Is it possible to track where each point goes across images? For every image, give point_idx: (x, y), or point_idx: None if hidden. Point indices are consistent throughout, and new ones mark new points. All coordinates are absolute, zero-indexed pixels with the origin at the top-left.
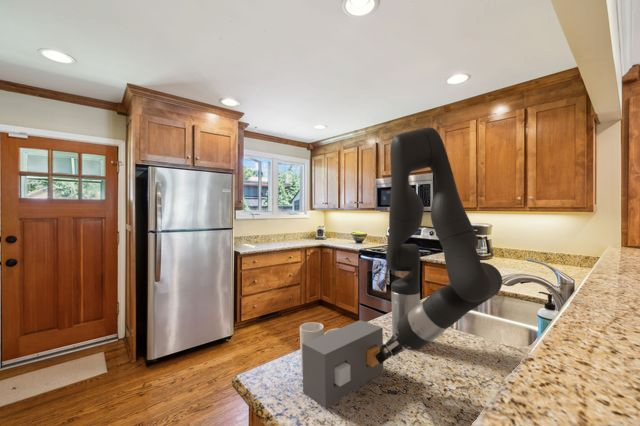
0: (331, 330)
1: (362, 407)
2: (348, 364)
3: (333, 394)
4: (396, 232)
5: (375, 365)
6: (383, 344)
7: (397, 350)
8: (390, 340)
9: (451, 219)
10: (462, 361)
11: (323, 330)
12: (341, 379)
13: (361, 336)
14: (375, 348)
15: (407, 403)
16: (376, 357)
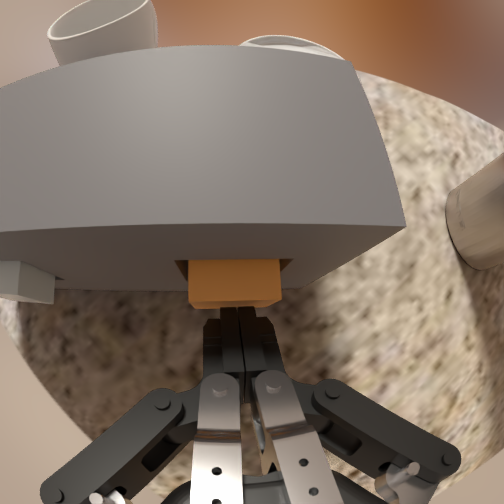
0: (296, 40)
1: (79, 365)
2: (15, 286)
3: None
4: None
5: None
6: (52, 501)
7: (263, 465)
8: (192, 501)
9: None
10: (488, 392)
11: (122, 32)
12: (4, 297)
13: (106, 214)
14: (256, 277)
15: None
16: (206, 325)
